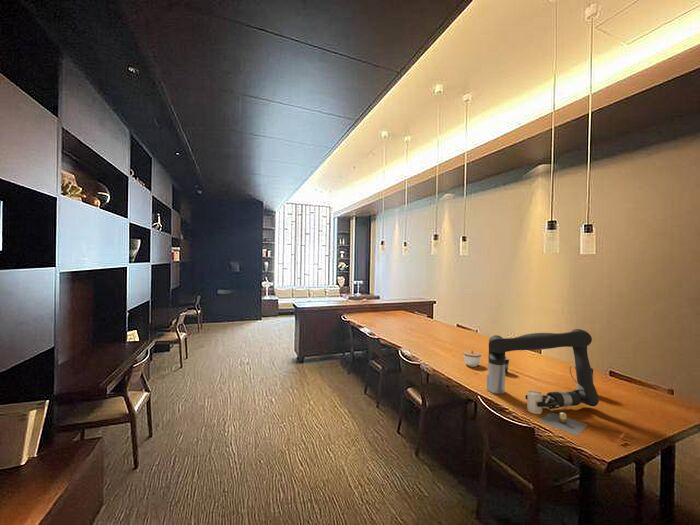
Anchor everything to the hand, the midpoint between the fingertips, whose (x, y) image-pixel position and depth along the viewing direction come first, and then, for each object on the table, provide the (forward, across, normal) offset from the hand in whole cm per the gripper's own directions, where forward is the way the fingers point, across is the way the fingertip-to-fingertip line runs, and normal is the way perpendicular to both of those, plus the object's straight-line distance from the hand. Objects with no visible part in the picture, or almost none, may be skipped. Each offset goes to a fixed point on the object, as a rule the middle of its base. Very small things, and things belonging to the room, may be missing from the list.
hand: (531, 400), depth 164 cm
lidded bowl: (-8, -73, +6) cm, 74 cm away
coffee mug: (-21, -58, +6) cm, 61 cm away
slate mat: (-7, +13, +6) cm, 16 cm away
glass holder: (-50, -21, +6) cm, 54 cm away
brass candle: (-7, +13, +5) cm, 15 cm away
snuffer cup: (-2, 0, +6) cm, 6 cm away
